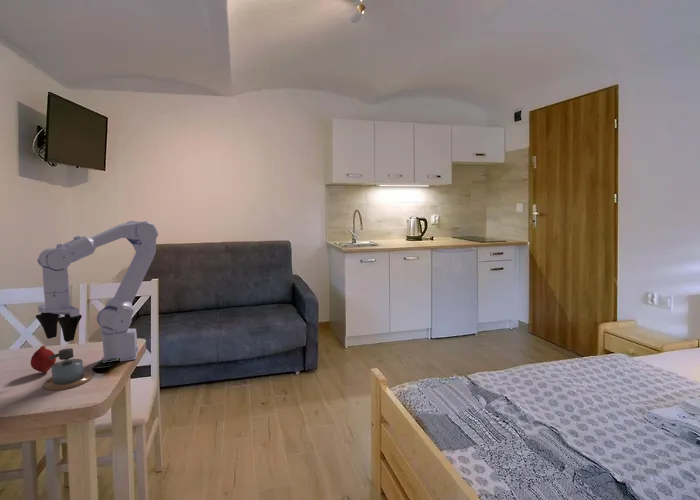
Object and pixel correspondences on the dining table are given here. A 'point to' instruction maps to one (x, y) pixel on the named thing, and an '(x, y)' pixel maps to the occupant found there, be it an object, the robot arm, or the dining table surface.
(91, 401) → the dining table surface
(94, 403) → the dining table surface
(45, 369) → the red round fruit
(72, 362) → the dispenser
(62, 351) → the pump head
